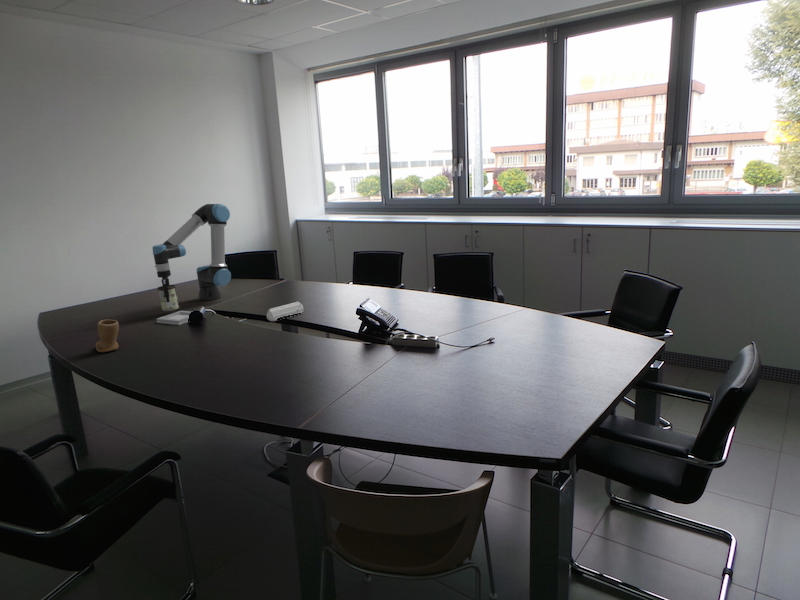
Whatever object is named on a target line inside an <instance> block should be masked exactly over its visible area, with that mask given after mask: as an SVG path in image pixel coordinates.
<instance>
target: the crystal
mask: <svg viewBox="0 0 800 600" xmlns="http://www.w3.org/2000/svg"><path fill="white" fill-rule="evenodd" d="M297 310H298V311H297ZM302 312H303V313H304V306H303V304H302V303H301V302H299V301H296V302H292V303H288V304H284V305H280V306H279V305H278V306H275V307H272V308H269V309H268V310H267V313H266V319H267V320H268V321H270V322H276V321H278V320H277V319H278V318H280V317H283V316H288V315H293V314H297V313H301V314H303V313H302Z"/></svg>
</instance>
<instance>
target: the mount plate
mask: <svg viewBox="0 0 800 600" xmlns="http://www.w3.org/2000/svg"><path fill="white" fill-rule="evenodd" d="M191 312H192V311H189V310H179V311H176V312H172V313H170V314H169V313H168V314H167V315H166V314H165V315H164V316H159V317H158V318H156V323H157V324H166V325H174V326H180V325H183V324H186V323H189V322H188V319H189V314H190V313H191Z"/></svg>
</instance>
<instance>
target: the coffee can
mask: <svg viewBox="0 0 800 600" xmlns="http://www.w3.org/2000/svg"><path fill="white" fill-rule="evenodd" d="M168 291H169V296H170V300H171V305H172V307H167V305H166V300H165V297H164V290H163V285H162V286H158V287H157V292H158V297H159V302H160V306H161V307H160V308H161V310H162V311H165V312H169V311H175V310H177V309H180V304H179V299H178V294H177V288H176V284H169V286H168ZM166 295H168V294H166Z"/></svg>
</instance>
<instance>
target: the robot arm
mask: <svg viewBox="0 0 800 600" xmlns="http://www.w3.org/2000/svg"><path fill="white" fill-rule="evenodd" d="M230 217H231V212H230V210H229V208H228V206H226V205H225V204H222V203H207V204H204V205H202V206H201V207H199V208H198V209H197V210H195V212H193V213H192V214H191V217H190V218H189V219H188V220H187V221H186V222H185V223H184V224H182V226H180V227H179V228H178V229H177V230H176V231H175V232H174V233H173V234H171V236H170V237H168V239H167V240H165V241H164V242H163V243H162V244H161V243H160V244H156V245H153V246H152V255H153V258H154V259H153V260H154V264H155V265H154V268H155V270H156V274H157V277H158V278H161V281H160V282H161V283H162V284H161V285H162V286H163V290H164V297H165V300H166V305H167V307H172V305H171V300H170V296H169V291H168V286H169V285H170V278H169V277H170V276H171V275H172V273H171V270H170V268H171V267H170V263H169V260H172V259H176V258H177V259H178V258H181V257H184V256H186V254H187V251H186V247H185V246H184V245H183V244H182V243H184V242H185V240H187V239H188V238H189V237H190V236H191V235H192V234H194V232H196V231H197V230H198V228H200V227H202V226H205V224H207V225H208V226H209V227H210V253H211V254H210V255H211V256H210V257H211V258H210V259H211V260H210V261H211V262H210V264H209V265H207V264H206V265H202V266H198V267H197V268H196V276H197V282H198V288H199V290H198V296H197V300H198V301H200V302H201V301H202V302H210V301H215V300H219V299H220V298H222V294H221V291H220V290H219V288H218V287H220V286H221V287H223V286H226V285H228V284H229V283H230V281H231V278H232V273H231V271H230V270H229V269H228V265H227V264H226V254H225V253H226V252H225V251H226V249H225V247H226V246H225V241H226V239H225V227H226V226H227V222H228V220H229V219H230ZM166 294H168V295H166Z"/></svg>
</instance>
